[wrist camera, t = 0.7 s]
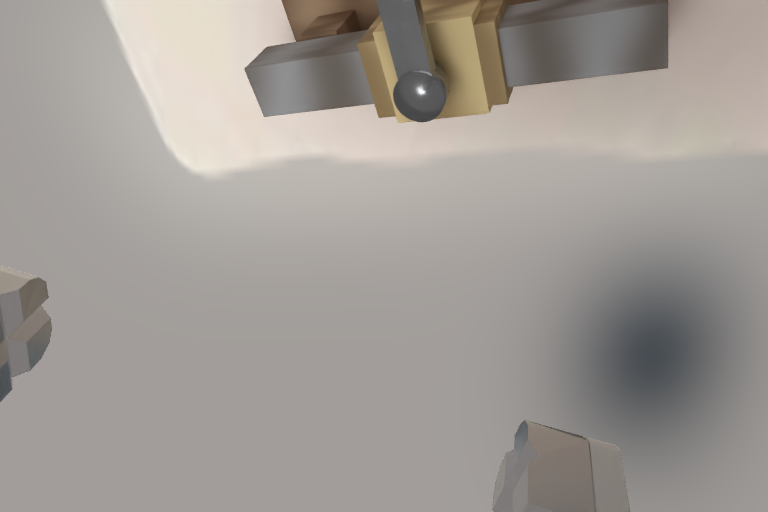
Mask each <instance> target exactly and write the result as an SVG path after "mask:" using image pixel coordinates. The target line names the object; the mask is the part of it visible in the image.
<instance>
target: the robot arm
mask: <svg viewBox="0 0 768 512" xmlns="http://www.w3.org/2000/svg"><path fill="white" fill-rule="evenodd" d="M47 299H48V291H47V285H46V282H45V281H44V280H42V279H41V278H39V277H36V276H33V275H29V274H26V273H24V272H20V271H17V270H14V269H11V268H8V267H5V266H2V265H0V402H1V401H2V400H3V399H4V397H6V395H7V394H8V393H9V392H10V391H11V390H12V377H14V376H17V375H20V374H22V373H25V372H28V371H30V370H31V369H32V368H33V367H34V366H35V365H36V364H37V363H38V361H39V360H40V359H41V358H42V356H43V354H44V352H45V350H46V348H47V346H48V344H49V342H50V337H51V331H52V326H51V318H50V316H49V315H48V314H47V312H46V311H45V310H44V309H43V307H42V306H41V305H42V304H43V303H44V302H45V301H46V300H47ZM493 511H494V512H630V508H629V502H628V496H627V489H626V482H625V476H624V470H623V463H622V457H621V451H620V450H619V448H618V447H617V446H616V445H612V444H609V443H605V442H602V441H598V440H595V439H591V438H588V437H585V438H584V437H583V436H580V435H576V434H573V433H569V432H566V431H562V430H559V429H555V428H552V427H548V426H545V425H541V424H538V423H534V422H530V421H527V420H524V421H523V422H522V423H521V424H520V426H519V428H518V430H517V432H516V434H515V443H514V450H512V451H510V452H507V453H506V454H505V457H504V459H503V461H502V463H501V466H500V469H499V472H498V475H497V479H496V483H495V489H494V496H493Z"/></svg>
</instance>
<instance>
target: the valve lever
mask: <svg viewBox="0 0 768 512" xmlns="http://www.w3.org/2000/svg"><path fill="white" fill-rule="evenodd" d="M376 1H377V5H378V8H379V12H380V16H381V19H382V23H383V27H384V31H385V34H386V38H387V42H388V45H389V49H390V53H391V56H392V60H393V64H394V68H395V71H396V75H397V79H398V81H397V83H396V85H395V87H394V90H393V100H394V103H395V106H396V107H397V109H398V110H399V112H400V113H401V114H402V115H404V116H405V117H406V118H408V119H410V120H413V121H416V122H427V121H430V120H433V119H434V118H436V117H437V116H438V115H439V114H440V113H441V111H442V109H443V107H444V105H445V103H446V101H447V99H448V97H449V93H450V85H449V81H448V79H447V77H446V75H445V74H444V73H443V71H442V70H441V69H439V68H438V67H436V66H435V62H434V58H433V53H432V49H431V45H430V40H429V36H428V32H427V27H426V23H425V19H424V14H423V10H422V6H421V1H420V0H376Z"/></svg>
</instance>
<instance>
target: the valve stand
mask: <svg viewBox="0 0 768 512" xmlns="http://www.w3.org/2000/svg"><path fill="white" fill-rule="evenodd" d="M420 1H421V6H422V10H423V14H424V19H425V23H426V27H427V32H428V36H429V40H430V45H431V49H432V53H433V58H434V62H435V66H436V67H438V68H439V69H441V70H442V71H443V73H444V74H445V75H446V77H447V79H448V81H449V85H450V93H449V97H448V99H447V101H446V103H445V105H444V107H443V109H442V111H441V113H440V114H439V115H438V116H437V117H436V118H434V119H439V118H449V117H458V116H468V115H477V114H486V113H490V110H491V107H492V105H499V104H508V101H509V98H510V95H511V92H512V89H513V87H516V86H524V85H532V84H540V83H549V82H557V81H565V80H573V79H582V78H590V77H598V76H606V75H615V74H623V73H631V72H639V71H648V70H656V69H664V68H668V1H667V0H420ZM282 3H283V6H284V9H285V11H286V14H287V17H288V20H289V23H290V26H291V28H292V31H293V34H294V37H295V40H296V42H293V43H287V44H281V45H276V46H270V47H266V48H265V49H264V50H263V51H262V52H261V53H260V54H259V55H258V56H257V57H256V58H255V59H254V60H253V61H252V62H251V63H250V64H249V65H248V66H247V67H246V68H245V72H246V74H247V77H248V79H249V81H250V84H251V86H252V89H253V91H254V94H255V96H256V98H257V101H258V103H259V106H260V108H261V110H262V113H263V115H264V117H268V116H276V115H285V114H293V113H301V112H309V111H318V110H326V109H334V108H342V107H351V106H359V105H367V104H375V107H376V110H377V113H378V117H379V118H382V117H391V116H396V118H397V121H398V123H402V122H411V121H413V120H410V119H408V118H406V117H405V116H404V115H402V114H401V113H400V112H399V110H398V109H397V107H396V106H395V103H394V100H393V90H394V87H395V85H396V83H397V81H398V79H397V75H396V71H395V68H394V64H393V60H392V56H391V53H390V49H389V45H388V42H387V38H386V34H385V31H384V27H383V23H382V19H381V16H380V12H379V8H378V5H377V1H376V0H282Z"/></svg>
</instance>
